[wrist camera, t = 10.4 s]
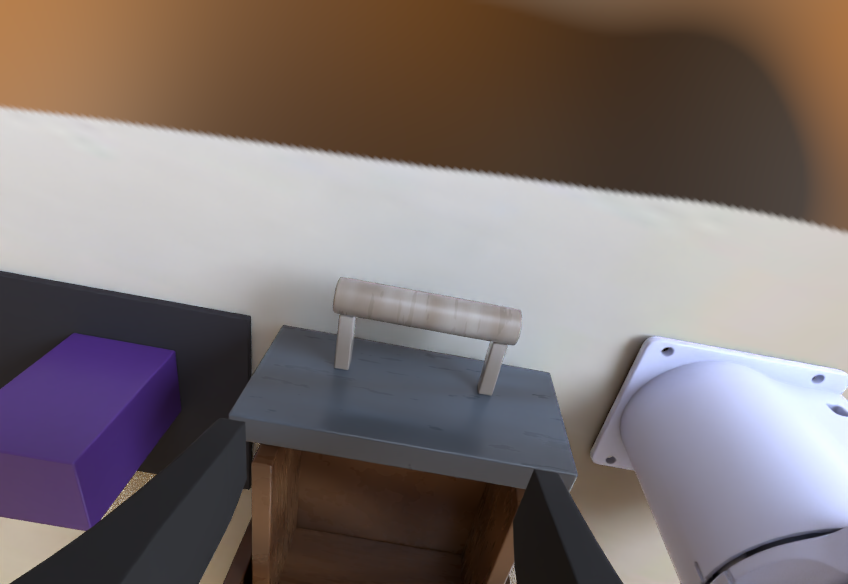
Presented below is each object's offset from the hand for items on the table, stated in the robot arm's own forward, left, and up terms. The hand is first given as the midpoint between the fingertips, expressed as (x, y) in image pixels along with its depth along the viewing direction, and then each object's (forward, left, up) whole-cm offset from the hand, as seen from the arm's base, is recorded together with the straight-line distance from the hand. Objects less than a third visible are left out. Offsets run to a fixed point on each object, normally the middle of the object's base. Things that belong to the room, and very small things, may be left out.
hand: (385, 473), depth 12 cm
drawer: (-1, +8, -9) cm, 12 cm away
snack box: (+13, +8, -10) cm, 19 cm away
